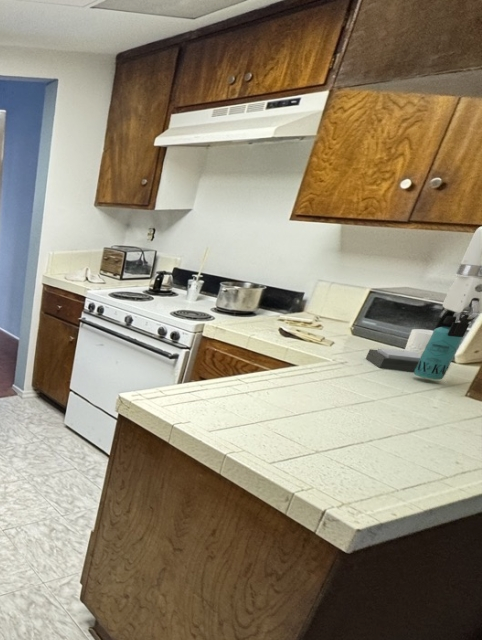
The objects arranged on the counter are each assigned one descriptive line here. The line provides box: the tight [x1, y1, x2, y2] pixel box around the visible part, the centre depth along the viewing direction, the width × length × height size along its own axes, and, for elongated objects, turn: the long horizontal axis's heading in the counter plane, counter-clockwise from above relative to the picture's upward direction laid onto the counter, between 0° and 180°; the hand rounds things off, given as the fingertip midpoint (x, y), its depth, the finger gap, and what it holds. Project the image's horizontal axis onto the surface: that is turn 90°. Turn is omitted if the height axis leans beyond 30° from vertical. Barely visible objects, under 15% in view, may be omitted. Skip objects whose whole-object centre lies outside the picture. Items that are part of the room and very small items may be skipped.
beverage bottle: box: [413, 315, 466, 380], centre depth 140 cm, size 6×7×20 cm
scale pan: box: [376, 347, 421, 361], centre depth 156 cm, size 9×9×2 cm
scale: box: [365, 348, 419, 373], centre depth 157 cm, size 12×12×4 cm
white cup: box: [404, 328, 434, 356], centre depth 163 cm, size 8×8×10 cm
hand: (448, 333), depth 138 cm, fingers closed on beverage bottle, 6 cm apart
